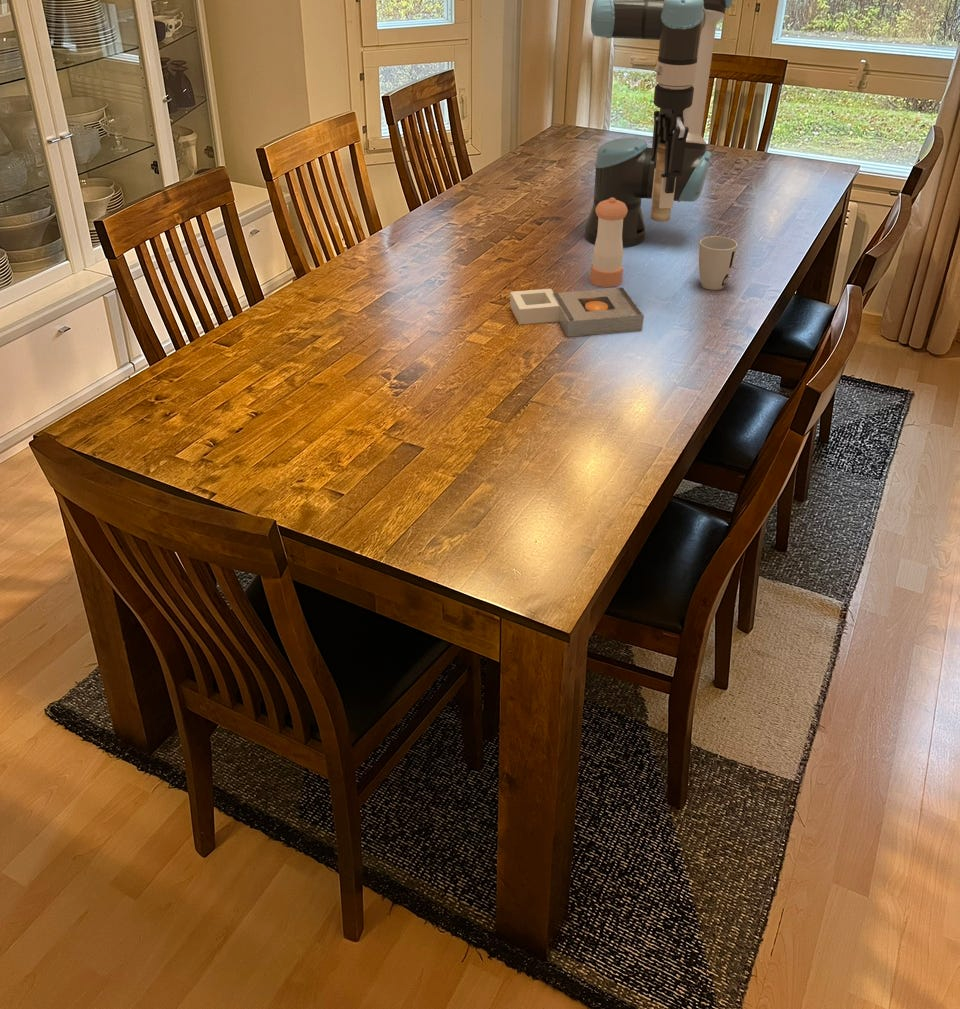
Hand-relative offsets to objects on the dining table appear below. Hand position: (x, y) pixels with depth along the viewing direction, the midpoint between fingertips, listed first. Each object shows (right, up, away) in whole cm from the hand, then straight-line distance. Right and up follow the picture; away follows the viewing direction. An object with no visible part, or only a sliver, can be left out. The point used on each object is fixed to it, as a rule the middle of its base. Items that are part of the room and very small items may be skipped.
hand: (661, 203), depth 207 cm
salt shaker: (-9, -11, +21) cm, 26 cm away
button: (-13, -21, +4) cm, 25 cm away
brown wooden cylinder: (0, -3, +2) cm, 3 cm away
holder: (-26, -22, +7) cm, 34 cm away
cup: (+15, -13, +19) cm, 28 cm away
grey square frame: (-13, -23, +5) cm, 27 cm away
